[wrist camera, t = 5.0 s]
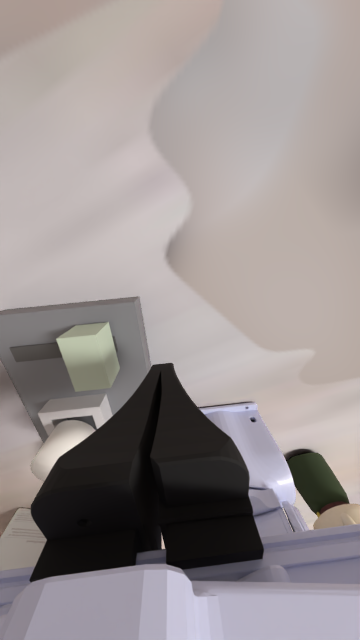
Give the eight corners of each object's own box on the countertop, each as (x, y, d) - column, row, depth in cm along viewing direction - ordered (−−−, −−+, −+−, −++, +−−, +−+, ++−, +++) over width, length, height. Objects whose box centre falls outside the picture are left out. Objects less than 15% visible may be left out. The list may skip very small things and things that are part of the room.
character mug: (271, 448, 27) (356, 603, 15) (315, 431, 26) (442, 581, 14) (288, 484, 30) (367, 635, 18) (327, 470, 30) (437, 618, 18)
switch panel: (139, 296, 18) (130, 306, 14) (167, 460, 27) (166, 495, 23) (4, 309, 18) (-45, 324, 14) (77, 470, 26) (60, 508, 22)
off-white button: (91, 417, 17) (75, 449, 14) (101, 448, 18) (89, 481, 16) (47, 422, 17) (22, 455, 14) (61, 452, 18) (41, 487, 16)
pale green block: (108, 322, 16) (95, 334, 13) (120, 368, 17) (110, 387, 15) (75, 325, 15) (56, 338, 13) (90, 371, 17) (75, 391, 14)
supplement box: (17, 506, 28) (-92, 682, 17) (64, 511, 30) (-8, 679, 18) (16, 530, 31) (-81, 700, 19) (60, 533, 32) (-6, 697, 20)
